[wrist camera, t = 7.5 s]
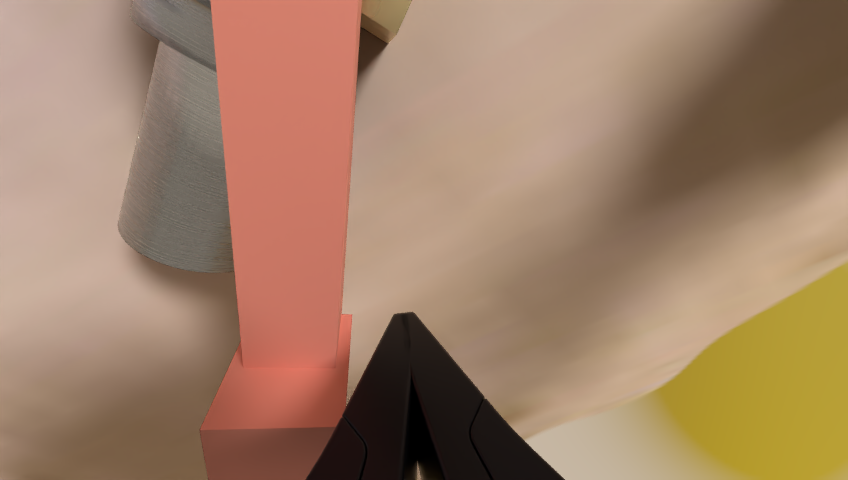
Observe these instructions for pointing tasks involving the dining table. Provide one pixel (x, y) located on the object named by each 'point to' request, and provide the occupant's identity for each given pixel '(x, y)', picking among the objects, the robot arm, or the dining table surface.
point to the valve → (192, 138)
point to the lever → (284, 230)
